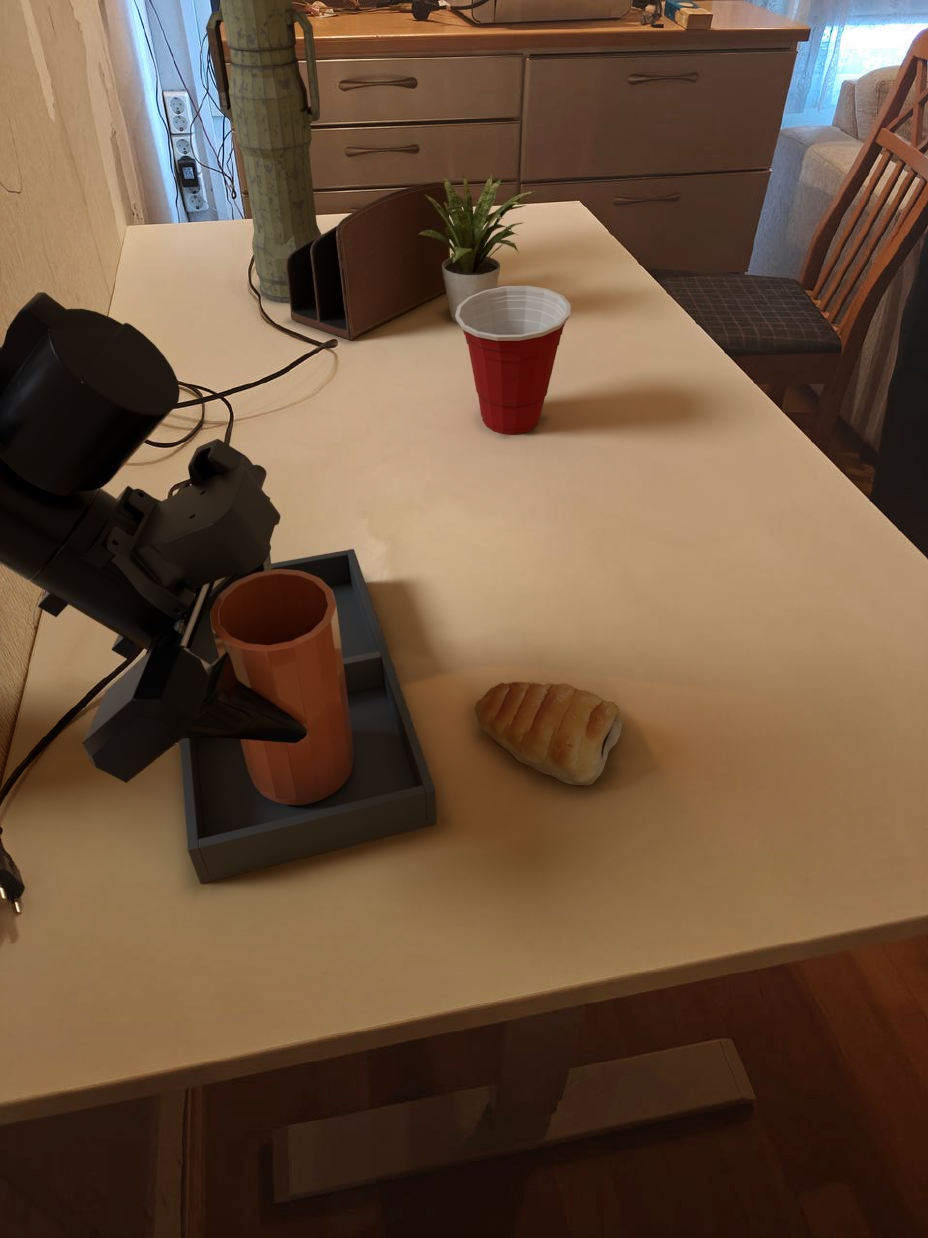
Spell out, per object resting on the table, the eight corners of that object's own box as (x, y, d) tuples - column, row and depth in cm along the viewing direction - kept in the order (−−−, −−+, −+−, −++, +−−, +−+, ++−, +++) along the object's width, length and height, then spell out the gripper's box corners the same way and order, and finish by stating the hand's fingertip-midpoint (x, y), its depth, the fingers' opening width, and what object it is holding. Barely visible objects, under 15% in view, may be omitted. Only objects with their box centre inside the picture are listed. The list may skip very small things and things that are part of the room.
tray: (200, 884, 49) (187, 850, 47) (177, 615, 67) (167, 581, 64) (437, 824, 52) (435, 790, 50) (357, 582, 70) (353, 548, 67)
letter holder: (452, 290, 114) (451, 174, 105) (350, 342, 103) (339, 216, 93) (393, 273, 119) (388, 160, 109) (290, 321, 107) (273, 199, 98)
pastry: (458, 750, 57) (458, 710, 54) (497, 682, 61) (499, 643, 59) (595, 798, 54) (602, 759, 51) (626, 724, 59) (634, 684, 56)
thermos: (256, 275, 118) (205, -48, 95) (342, 277, 118) (313, -47, 94) (240, 301, 111) (181, -40, 88) (331, 303, 111) (297, -39, 88)
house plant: (523, 348, 101) (530, 199, 90) (407, 340, 103) (400, 192, 92) (535, 300, 112) (543, 161, 101) (429, 293, 113) (426, 156, 103)
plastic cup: (437, 409, 91) (435, 295, 83) (527, 387, 94) (533, 275, 86) (487, 459, 83) (489, 339, 75) (582, 432, 87) (594, 315, 79)
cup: (228, 778, 54) (184, 622, 45) (293, 710, 58) (264, 556, 49) (313, 822, 51) (283, 667, 43) (374, 748, 56) (359, 592, 47)
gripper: (79, 562, 32) (392, 758, 39) (203, 343, 46) (417, 518, 53) (-49, 702, 37) (246, 852, 45) (96, 468, 51) (304, 612, 59)
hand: (312, 691), depth 50 cm, fingers closed on cup, 6 cm apart
